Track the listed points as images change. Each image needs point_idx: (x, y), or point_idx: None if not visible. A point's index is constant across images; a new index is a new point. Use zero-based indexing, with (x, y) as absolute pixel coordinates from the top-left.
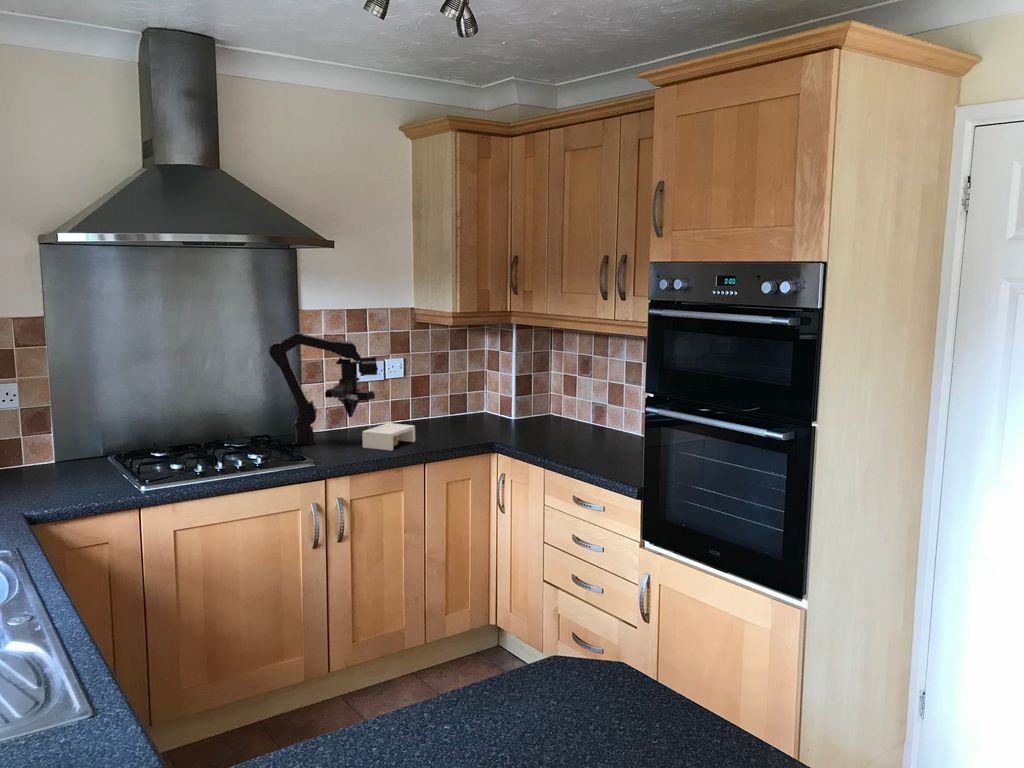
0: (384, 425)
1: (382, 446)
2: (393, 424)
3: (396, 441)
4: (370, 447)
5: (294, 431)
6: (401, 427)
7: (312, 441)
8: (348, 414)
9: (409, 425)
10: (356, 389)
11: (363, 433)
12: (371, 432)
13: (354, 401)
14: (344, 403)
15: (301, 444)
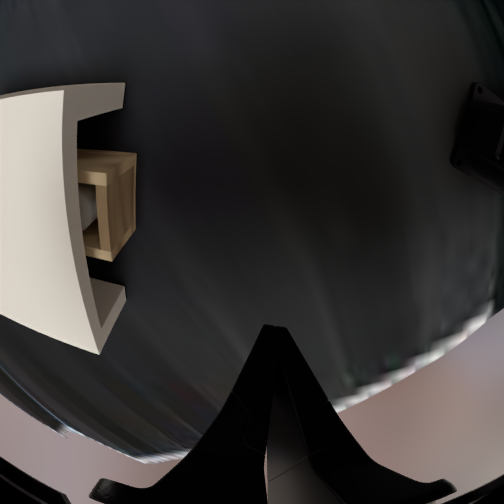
0: (67, 305)
1: (18, 92)
2: (56, 328)
3: None
4: (78, 84)
5: None
6: None
7: (464, 125)
8: (286, 344)
9: (4, 312)
10: None
11: (66, 89)
12: (9, 97)
13: (101, 480)
14: (346, 462)
15: (491, 92)
